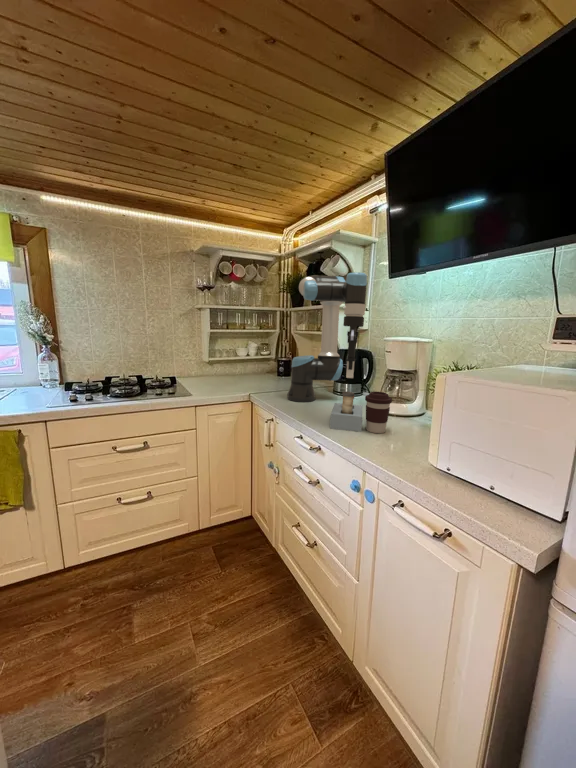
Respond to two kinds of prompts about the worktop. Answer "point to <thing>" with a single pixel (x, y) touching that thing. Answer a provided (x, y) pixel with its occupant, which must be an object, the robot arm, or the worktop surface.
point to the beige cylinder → (347, 402)
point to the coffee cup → (377, 411)
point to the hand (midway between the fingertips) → (349, 377)
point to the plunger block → (346, 418)
